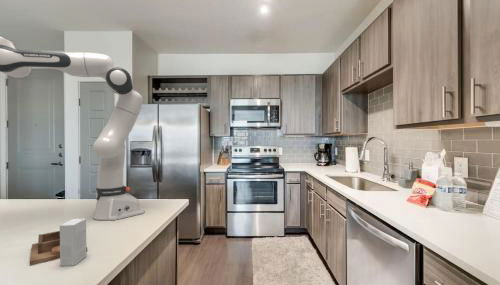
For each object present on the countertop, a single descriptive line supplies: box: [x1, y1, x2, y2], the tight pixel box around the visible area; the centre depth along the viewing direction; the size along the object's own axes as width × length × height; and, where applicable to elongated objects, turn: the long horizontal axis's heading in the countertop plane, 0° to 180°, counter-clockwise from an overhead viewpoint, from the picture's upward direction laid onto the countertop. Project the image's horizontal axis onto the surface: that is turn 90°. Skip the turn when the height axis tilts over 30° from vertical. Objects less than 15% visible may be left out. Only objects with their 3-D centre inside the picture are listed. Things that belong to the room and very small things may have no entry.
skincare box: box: [59, 218, 88, 267], centre depth 73 cm, size 6×4×12 cm
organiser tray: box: [29, 230, 88, 266], centre depth 81 cm, size 14×16×4 cm
